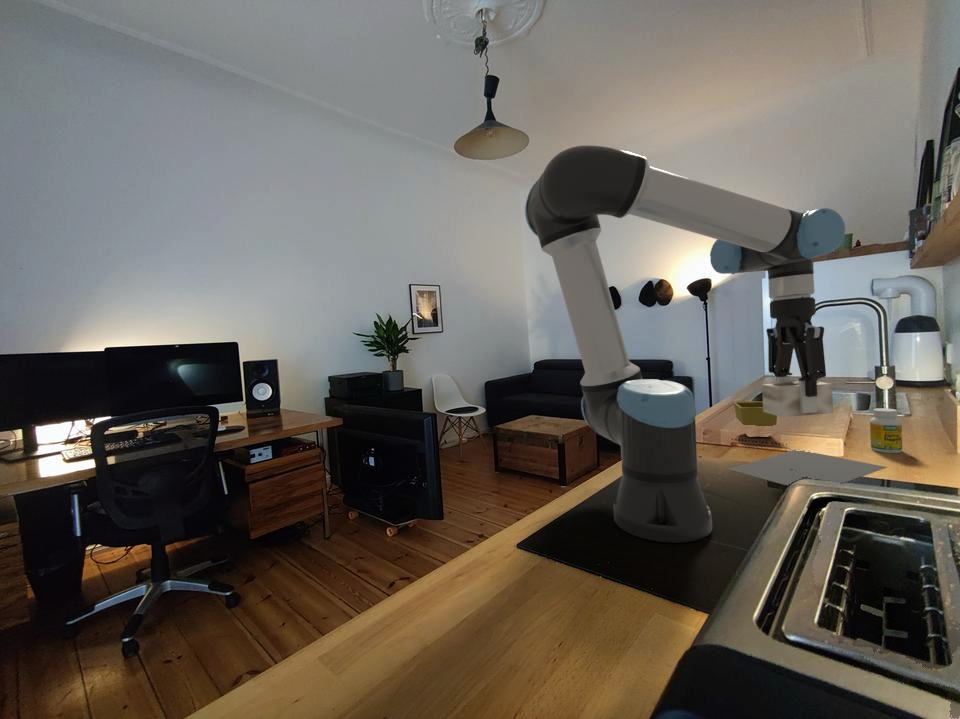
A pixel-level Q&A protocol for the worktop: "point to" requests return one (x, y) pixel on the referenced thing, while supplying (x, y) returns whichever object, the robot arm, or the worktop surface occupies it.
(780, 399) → the pale grey rectangular box
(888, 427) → the supplement bottle
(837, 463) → the mat
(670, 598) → the worktop surface
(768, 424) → the flower pot
